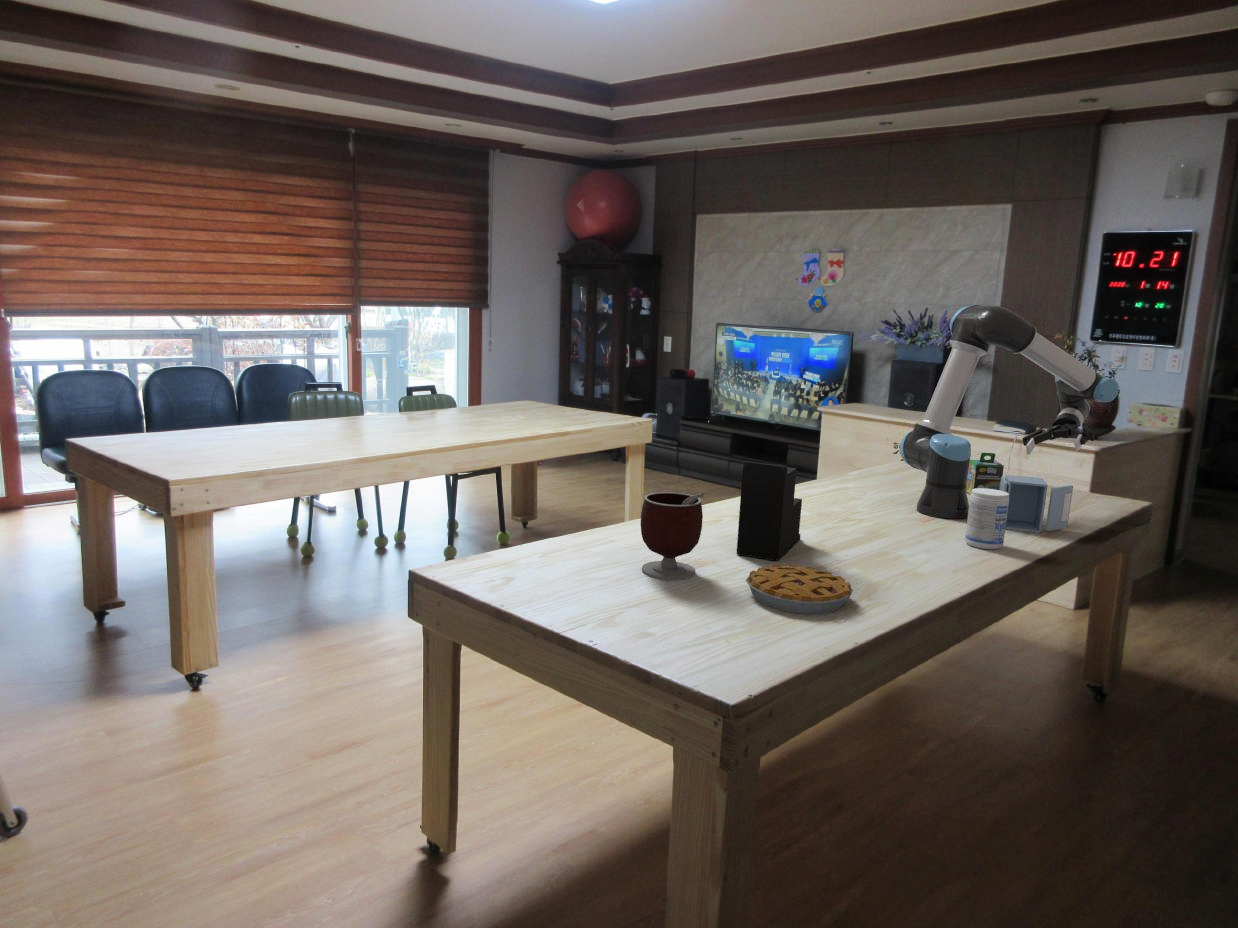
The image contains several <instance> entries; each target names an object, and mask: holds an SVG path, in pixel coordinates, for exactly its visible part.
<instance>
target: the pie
mask: <svg viewBox="0 0 1238 928" xmlns="http://www.w3.org/2000/svg"><path fill="white" fill-rule="evenodd" d="M745 582H746V583H747V585H748V586H749V589H750V592H751V595H752V596H753V598H754V599H755V600H757V601H758V602H761V603H762V604H764V605H765V606H767V607H771V608H774V609H777V610H780V611H783V612H789V613H794V614H802V615H804V614H805V615H807V614H809V615H810V614H811V615H814V614H824V613H829V612H830V613H831V612H833V611H836V610H838V609H841V608H843V605H844V604H845V602H846V601H847V599H849V598H850V597H851V595H852V593H853V591H854V589H853V588H852V585H851V584H850V582H849V581H848V582H847V581H845V578H843V576H841V575H833V573H832V571H827V570H823V571H822V570H817V569H816V568H815V567H809V566H807V567H801V566H799V565H797V564H789V565H788V566H787V565H786V566H784V565H783V566H782V565H781V564H773V565H772V566H771V567H764V566H762V567H758V568H757V569H756V570H751V571H750V572H749V576H747V578H746V579H745Z"/></svg>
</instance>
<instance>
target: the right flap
mask: <svg viewBox="0 0 1238 928" xmlns="http://www.w3.org/2000/svg"><path fill="white" fill-rule="evenodd" d="M1073 491H1074V485H1072V484H1068V485H1060V486H1053V487H1051V488H1050V494H1049V495H1050V496H1049V503H1048V511H1047V515H1046V524H1045V531H1047V532H1050V531H1054V530H1055V531H1056V530H1060V529H1066V528H1068V526H1069V525H1068V524H1069V519H1070V513H1071V505H1072V500H1073V499H1072V498H1073Z"/></svg>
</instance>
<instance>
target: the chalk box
mask: <svg viewBox="0 0 1238 928" xmlns="http://www.w3.org/2000/svg"><path fill="white" fill-rule="evenodd" d="M985 457H990V458H989V459H985ZM995 458H996V453H994V452H981V453H980V458H979V459H970V462H969V469H968V477H967V485H966V494H968V495H970V496H971V492H972V489H975V488H986V489H995V490H1000V482H1001V477H1004V469H1005V466H1004V464H1002V463H1001V462H998V461H997V460H995Z"/></svg>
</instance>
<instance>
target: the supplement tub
mask: <svg viewBox="0 0 1238 928" xmlns="http://www.w3.org/2000/svg"><path fill="white" fill-rule="evenodd" d="M969 497H970V498H969V502H968V503H969V512H968V517H967V522H966V528H965V529H966V530H965V538H964V541H965V543H966V544H967V545H969V546H970V547H972V548H973V547H974V548H978V549H983V550H999V549H1001V548H1003V546H1004V540H1005V533H1006V529H1005V527H1006V519H1007V512H1008V504H1009V494H1008V493H1007V492H1004V491H1000V490H995V489H986V488H975V489H972V492H971V495H970V496H969Z"/></svg>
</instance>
